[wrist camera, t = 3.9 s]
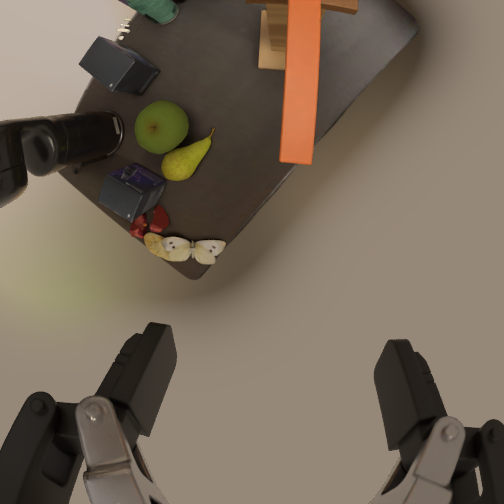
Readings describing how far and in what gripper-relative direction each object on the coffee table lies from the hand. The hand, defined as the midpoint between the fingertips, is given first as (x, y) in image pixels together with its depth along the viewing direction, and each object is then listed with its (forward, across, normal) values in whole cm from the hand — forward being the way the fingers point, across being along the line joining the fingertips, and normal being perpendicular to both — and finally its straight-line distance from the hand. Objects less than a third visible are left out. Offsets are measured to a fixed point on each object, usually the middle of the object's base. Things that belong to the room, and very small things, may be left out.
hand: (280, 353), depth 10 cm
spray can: (+42, -23, +31) cm, 57 cm away
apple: (+42, -19, +7) cm, 47 cm away
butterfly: (+39, -16, -19) cm, 46 cm away
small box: (+42, -28, +19) cm, 54 cm away
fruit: (+38, -20, -2) cm, 44 cm away
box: (+42, -26, -4) cm, 50 cm away
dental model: (+40, -21, -11) cm, 47 cm away
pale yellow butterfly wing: (+42, -25, -20) cm, 52 cm away
